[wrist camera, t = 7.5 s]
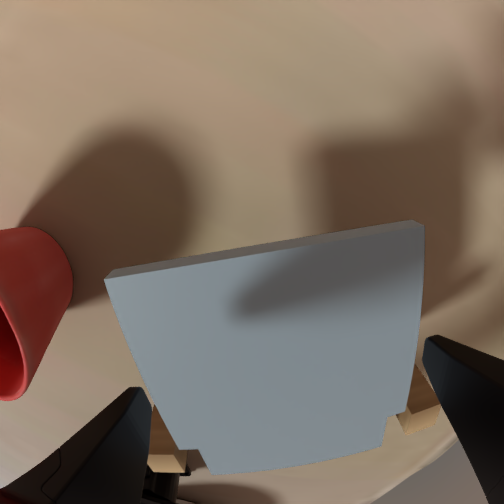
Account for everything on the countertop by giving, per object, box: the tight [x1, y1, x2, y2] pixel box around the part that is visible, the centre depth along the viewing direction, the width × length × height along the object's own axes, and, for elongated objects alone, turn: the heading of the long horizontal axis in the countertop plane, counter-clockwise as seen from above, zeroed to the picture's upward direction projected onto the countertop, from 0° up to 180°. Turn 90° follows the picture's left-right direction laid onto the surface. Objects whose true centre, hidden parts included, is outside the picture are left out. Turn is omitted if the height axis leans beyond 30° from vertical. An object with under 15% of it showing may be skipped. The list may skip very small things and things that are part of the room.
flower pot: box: [0, 227, 73, 401], centre depth 17 cm, size 11×11×10 cm
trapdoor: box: [104, 220, 425, 475], centre depth 14 cm, size 13×12×3 cm
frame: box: [147, 363, 441, 473], centre depth 19 cm, size 2×17×10 cm, turn 99°
